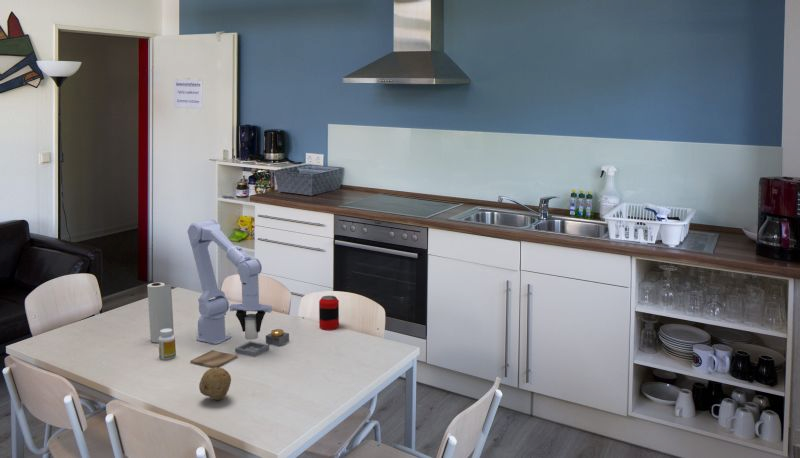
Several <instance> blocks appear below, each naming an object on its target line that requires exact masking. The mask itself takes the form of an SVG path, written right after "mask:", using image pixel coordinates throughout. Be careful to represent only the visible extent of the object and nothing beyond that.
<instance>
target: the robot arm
mask: <svg viewBox="0 0 800 458" xmlns="http://www.w3.org/2000/svg"><path fill="white" fill-rule="evenodd" d="M187 235H188V241H189V243H190V246H191V250H192V254H193V257H194V261H195V266H196V270H197V272H198V279H199V281H200V285H201V289H202V293H201V295H200V296H199V298H198V299H197V300H198V312H199V314H200V317H199V318H198V321H197V336H198V337H197V338H196V340H197V341H200V342H204V343H205V342H206V343H209V344H214V345H218V344H221V343H222V342H223V341H227V340H228V339H231V335H226V320H225V319H226V315H227V312H228V311H229V312H235V311H236V313H235V316H236V318H237V319H238V321H239V324H240V326H241V331H242V332H244V333H245V319H244V316H245V315H247V313H248V312H256V313H254V314H255V316H256V323H257V328H256V330H257V332H258V333H260V331H261V327H262V323H263V320H264V317H265V316H266V315H265V314H266V313H269V314H271V313H272V311H273V306H272V305H266V304H261V303H260V293H259V291H260V290H259V288H260V287H259V275H260V274H261V273H262V269H263V267H262V266H263V265H262V264H261V262H260V260H259V259H258V258H256V257H252V256H250V255H249V254H247V252H246V251H245V250H244V249H243V248H242V247H241V245H234V244H233V243H232V241H230V239H229V238H228V237H227V236H226V234H225V233H224V231H222V226H221V224H219V222H217V220H215V219H210V220H206V221H199V222H192V223H191V224H190V225H189V227H188V229H187ZM212 242H214V243H215V244H216V246H219V247H220V248H221V249H222V250H223V251H224V252H226V259H228V260H229V261H230V262H231V263H232V265H234V266H235V267H236V269H237V274H238V276H239V280H240V282H241V299H242V300H241V302H242V303H235V304H230V302H229V300H228V298H227V297H226V294H225V292H224V291H223V290H221V289H219V288H218V283H217V279H216V276H215V271H214V267H213V265H212V260H211V257H210V256H211V255H210V253H209V249H208V248H209V246H210V244H211V243H212Z"/></svg>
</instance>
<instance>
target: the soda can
mask: <svg viewBox="0 0 800 458" xmlns="http://www.w3.org/2000/svg"><path fill="white" fill-rule="evenodd" d="M339 302H340V300H339V299H338V297H336V296H335V295H323V296H322V297H321V298H320V300H319V301H318V312H319V313H318V317H319V318H318V320H319V322H318V323H319V324H318V325H319V329H321V330H324V331H333V330H337V329H338V328H339V326H340V320H339V319H340V315H339V314H340V311H339V310H340V309H339V308H340V307H339V306H340V303H339Z"/></svg>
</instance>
